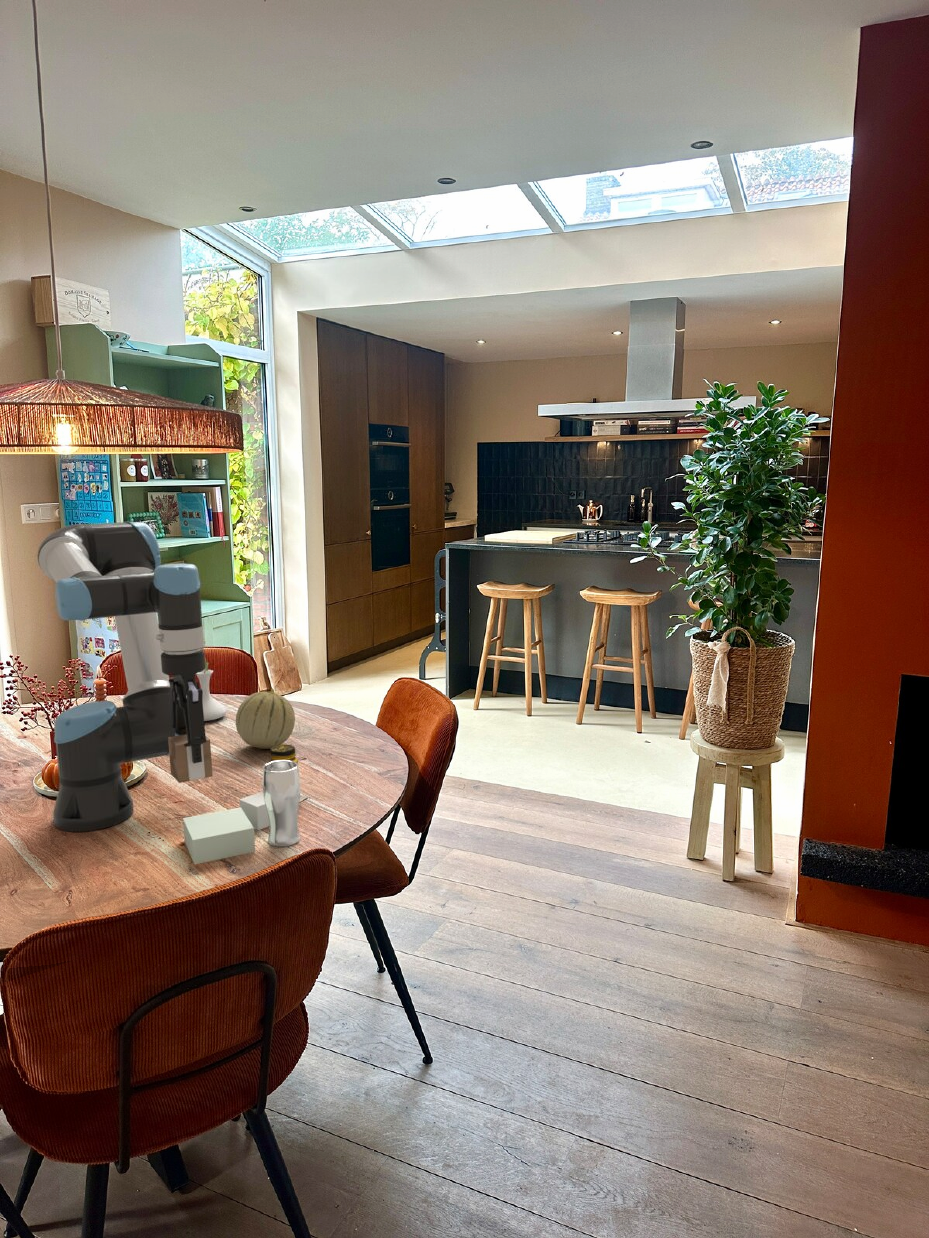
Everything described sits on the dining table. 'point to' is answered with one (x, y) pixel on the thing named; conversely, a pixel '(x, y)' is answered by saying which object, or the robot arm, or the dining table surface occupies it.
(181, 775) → the walnut block
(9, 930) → the dining table surface
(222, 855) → the pedestal block
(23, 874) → the dining table surface
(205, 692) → the flower in vase
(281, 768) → the beer glass
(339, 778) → the dining table surface
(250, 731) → the cantaloupe
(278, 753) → the condiment
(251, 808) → the grey block
